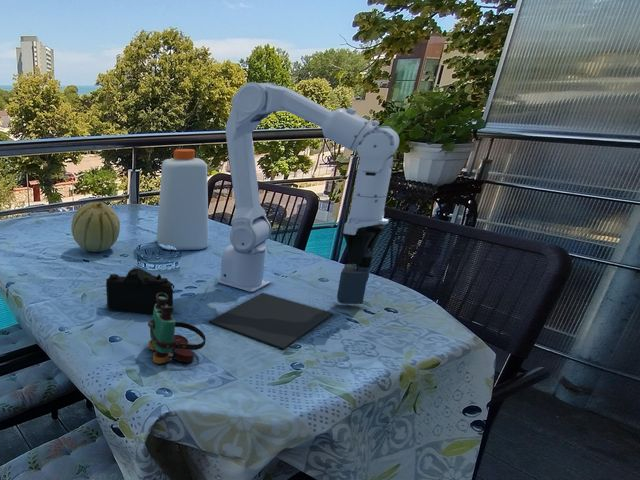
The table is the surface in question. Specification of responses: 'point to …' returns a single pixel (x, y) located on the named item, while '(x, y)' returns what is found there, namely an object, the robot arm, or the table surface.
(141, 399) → the table surface
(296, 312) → the mat
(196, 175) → the plastic bottle
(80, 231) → the cantaloupe
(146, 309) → the film camera
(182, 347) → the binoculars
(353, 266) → the vaping device
